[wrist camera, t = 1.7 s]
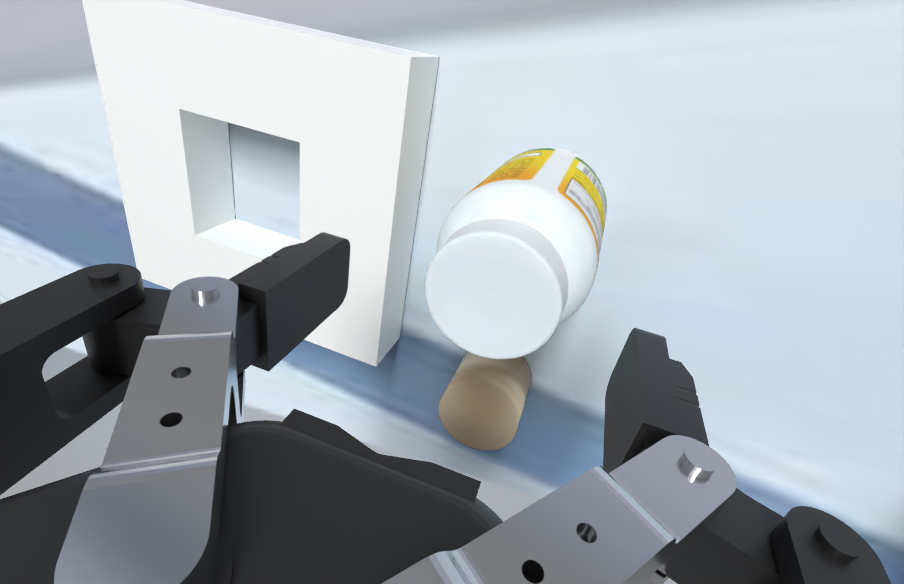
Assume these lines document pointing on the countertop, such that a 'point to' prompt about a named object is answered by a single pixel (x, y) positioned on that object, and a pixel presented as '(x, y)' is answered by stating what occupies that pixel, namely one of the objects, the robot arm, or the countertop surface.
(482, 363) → the short birch peg
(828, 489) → the countertop surface
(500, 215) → the supplement bottle
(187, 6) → the collar block
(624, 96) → the countertop surface
